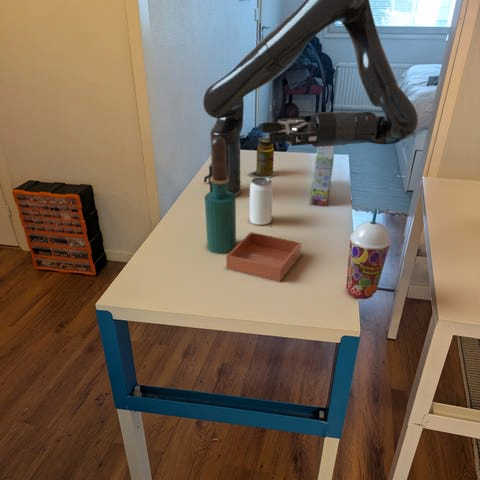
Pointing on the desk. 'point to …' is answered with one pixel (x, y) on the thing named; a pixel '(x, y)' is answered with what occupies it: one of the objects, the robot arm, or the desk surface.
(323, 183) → the snack box
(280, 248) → the dish
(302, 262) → the desk surface
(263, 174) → the condiment
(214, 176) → the stopper
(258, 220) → the can
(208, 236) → the flask
